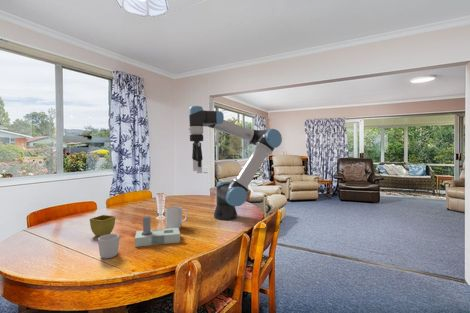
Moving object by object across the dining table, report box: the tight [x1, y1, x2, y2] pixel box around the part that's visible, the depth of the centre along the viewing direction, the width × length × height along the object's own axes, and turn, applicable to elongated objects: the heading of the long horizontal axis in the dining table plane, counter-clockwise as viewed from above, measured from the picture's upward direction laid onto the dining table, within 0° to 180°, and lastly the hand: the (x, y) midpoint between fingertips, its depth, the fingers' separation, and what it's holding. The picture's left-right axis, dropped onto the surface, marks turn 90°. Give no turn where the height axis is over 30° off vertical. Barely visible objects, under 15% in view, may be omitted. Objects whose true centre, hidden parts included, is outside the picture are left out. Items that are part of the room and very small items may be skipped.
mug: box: [164, 205, 188, 229], centre depth 143 cm, size 12×9×11 cm
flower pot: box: [89, 214, 116, 237], centre depth 130 cm, size 9×9×9 cm
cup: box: [97, 233, 120, 259], centre depth 106 cm, size 11×8×8 cm
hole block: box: [134, 228, 181, 248], centre depth 122 cm, size 20×10×4 cm, turn 107°
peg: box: [142, 215, 152, 235], centre depth 120 cm, size 3×3×12 cm
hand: (197, 172), depth 143 cm, fingers open, 13 cm apart
